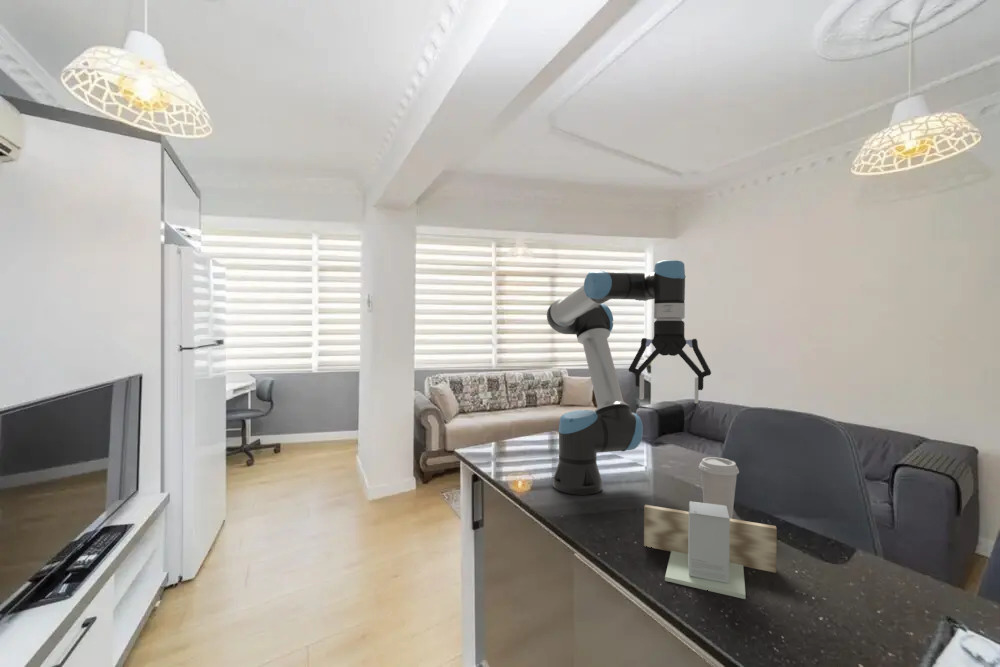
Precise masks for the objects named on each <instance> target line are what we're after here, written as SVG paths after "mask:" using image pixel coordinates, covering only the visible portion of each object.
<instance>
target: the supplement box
mask: <svg viewBox="0 0 1000 667" xmlns="http://www.w3.org/2000/svg"><path fill="white" fill-rule="evenodd" d="M688 503H689V504H688V512H689V530H688V570H689V576H693V577H698V578H703V579H708V580H713V581H719V582H724V583H729V531H730V517H729V513H728V509H727V506H724V505H717V504H709V503H703V502H699V501H692V500H690V501H689V502H688Z"/></svg>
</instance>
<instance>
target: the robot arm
mask: <svg viewBox="0 0 1000 667" xmlns="http://www.w3.org/2000/svg"><path fill="white" fill-rule="evenodd" d="M685 296H686V270H685V263H684V262H683V261H682V260H677V259H676V260H675V259H674V260H673V259H672V260H671V259H670V260H669V259H668V260H660V261H657V262H656V263H655V264H654V269H653V271H652V272H631V271H630V272H627V271H626V272H625V271H624V272H622V271H606V270H599V271H598V270H595V271H590V272H588V273H587V275H586V277H585V278H584V281H583V285H582V286H580V287H579V288H578V289H576V290H575V291H574V292H572V293H570V294H569V295H568V296H566V297H565V298H561V299H557V300H556V301H554V302H553V303H551V305H550V306H549V307H548V309H547V311H546V320H547V322H548V325H549V326H550V327H551V329H552V330H554V331H555V332H557V333H560V334H563V335H575V336H576V339H577V341H578V343H579V344H581V345H583V346H582V347H583V350H584V354H585V358H586V363H587V367H588V368H587V369H588V372H589V377H590V380H591V384H592V389H593V392H594V396H595V402H596V406H597V407H596V409H595V410H591V409H590V410H589V409H584V410H582V409H579V410H572V411H568V412H565V413H564V414H562V415H561V416H560V418H559V423H558V463H557V466H556V469H555V471H554V475H553V478H552V486H553V488H554V489H555V490H557V492H558V491H559V492H561V493H565V494H568V495H577V496H588V495H595V494H597V493H600V492H601V491H603V490H602V489H603V480H602V477H601V473H600V470H599V467H598V462H597V454H598V453H609V452H610V453H611V452H626V451H631V450H636V448H638V447H639V445H640V444H641V443H642V442H641V441H642V438H643V435H644V427H643V425H644V424H643V421H642V419H641V416H639V415H638V414H637V413H636V412H632V410H631V407H630V405H629V404H628V403H626V402H625V401H624V399H623V394H622V391H621V388H620V384H619V379H618V376H617V371H616V367H615V365H614V360H613V357H612V353H611V348H610V345H609V341H608V339H609V337H610V336H611V332H612V331H613V328H614V317H613V316H614V315H613V312H612V311H611V309H610V307H609V306H608V305H606V304H605V303H606V302H608V301H610V300H635V301H639V302H640V301H643V302H644V301H645V302H646V301H648V300H654V301H653V305H654V307H653V310H654V311H653V319H655V321H654V322H653V338H652V339H651V338H647V337H643V338H641V341H640V347H639V349H638V351H637V352H636V354H635V357H634V358H633V359H632V362H631V364H630V366H629V367H628V372H629V373H633V374H634V375H635V386H636V387H637V388H638V387H639V400H641V401H642V400H644V399H645V374H642V372H644V371H645V369H646V368H647V367H648V366H649V365H650V364H651V363H652V362H653V361H654V360H655V359H656V357H658V355H661V356H670V357H671V356H674V357H676V356H677V355H679V357H680V358H681V359H682V360H683V361H684V362H685V363H686V364H687V365H688V367H689V368H690V369H691V371H693V372H694V374H696V376H695V377H694V404H699V391H703V390H704V378H705V377H708V376H711V374H712V371H711V369H710V367H709V365H708V363H707V361H706V359H705V357H704V355H703V353H702V352H701V350H700V348H699V342H698V339H697V338H692V339H686V338H685V322H684V320H683V319H685V317H686V316H685V312H686V310H685V308H686V307H685V306H686V303H685V298H686V297H685ZM651 344H652V346H653V347H654V348H655V349H654V351H652V352H651V354H650V355H648V357H647V358H646V359H645V361H643V363H641V365H640V366H639V367H638V368H637V366H638V364H639V363H640V361H641V359H642V357H643V355H644V353H645V352H646V349H647V347H650V345H651ZM686 345H688V347H690V348H692V349H693V350H692V351H693V352H694V354H695V356H696V358H697V360H698V362H699V364H700V365H701V367H702V369H703V371H702V370H701V368H699V367H698V366H697V365H696V363H695V362H694V361H693V360H692V359H691V358H690V357H689V355H687V353H686V352H685V351H684V350H683V349H684V347H685V346H686Z"/></svg>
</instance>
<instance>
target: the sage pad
mask: <svg viewBox="0 0 1000 667" xmlns="http://www.w3.org/2000/svg"><path fill="white" fill-rule="evenodd" d="M744 572H745V571H744V566H743V565H740V564H735V563H730V562H729V583H724V582H719V581H713V580H708V579H703V578H698V577H693V576H689V570H688V554H686V553H681V552H676V551H670V555H669V559H668V562H667V568H666V572H665V576H664V581H665V582H670V583H671V584H672V583H673V584H677V585H682V586H685V587H691V588H696V589H699V590H702V591H703V590H704V591H707V590H708V592H712V593H717V594H721V595H725V596H730V597H734V598H738V599H741V600H742V599H743V600H746V584H745V573H744Z"/></svg>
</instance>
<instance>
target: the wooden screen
mask: <svg viewBox="0 0 1000 667" xmlns="http://www.w3.org/2000/svg"><path fill="white" fill-rule="evenodd" d="M643 510H644V511H643V514H644V515H643V518H644V519H643V520H644V521H643V525H644V526H643V546H644V547H646V546H647V547H646V548H651V547H652V549H656V550H657V549H658V550H661V551H667V552H671V551H676V552H681V553H686V554H688V530H689V511H686V510H679V509H674V508H668V507H661V506H656V505H650V504H644V506H643ZM777 530H778V529H777V526H776V525H772V524H765V523H759V522H752V521H746V520H743V519H735V518H732V519H730V531H729V562H730V563H735V564H740V565H743V567H745V568H750V569H754V570H755V569H756V570H760V571H764V572H765V571H766V572H770V573H777V542H778V540H777V534H778V533H777V532H778V531H777Z"/></svg>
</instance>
